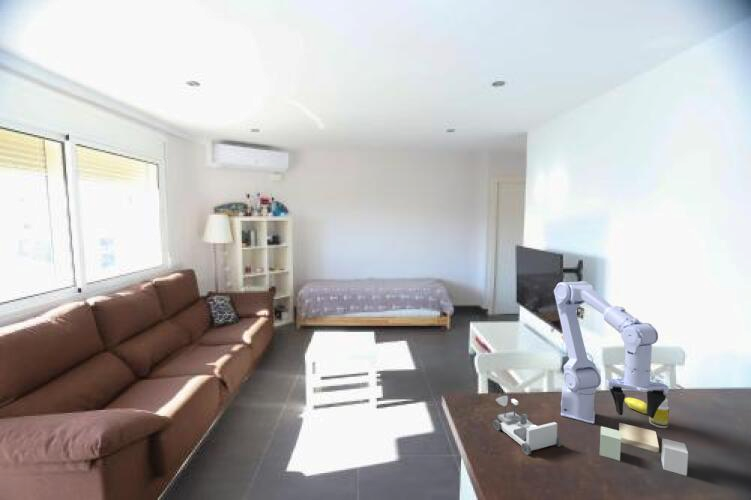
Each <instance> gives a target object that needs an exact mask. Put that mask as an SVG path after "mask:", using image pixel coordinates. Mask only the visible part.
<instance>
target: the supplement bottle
mask: <svg viewBox="0 0 751 500" xmlns="http://www.w3.org/2000/svg"><path fill="white" fill-rule="evenodd" d="M668 404H669V400H668V398H666V399H665V400H664V401H663V402H662V403H661V405H660V406H659V407H658V409H657V411H656V413H655V416H654V418H650V417H649V416H648V422H649V424H651V425H652V426H654V427H656V428H661V429H667V428H668V427H669V413H670V407H669V406H668Z"/></svg>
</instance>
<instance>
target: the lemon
mask: <svg viewBox="0 0 751 500" xmlns="http://www.w3.org/2000/svg"><path fill="white" fill-rule="evenodd" d="M624 402H625V404H626V405H627V406H628V408H630V409H632V410H635V411H637V412H639V413H642V414H644V415H647V403H646V402H645V401H643V400H641V399H639V398H635V397H625V398H624Z"/></svg>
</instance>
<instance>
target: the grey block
mask: <svg viewBox="0 0 751 500" xmlns="http://www.w3.org/2000/svg"><path fill="white" fill-rule="evenodd" d="M661 440H662V441H661V464H662V465H661V466H662V468H663V470H665V471H668V472H673V473H674V474H675V473H676V474H679V475H682V476H686V477H687V476H688V475H687V474H688V461H689V452H688V448H687V447H686V444H685V443H684V442H680V441H674V440H671V439H668V438H667V439H666V438H662V439H661Z"/></svg>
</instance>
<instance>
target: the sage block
mask: <svg viewBox="0 0 751 500" xmlns="http://www.w3.org/2000/svg"><path fill="white" fill-rule="evenodd" d="M599 437H600V438H599V439H600V440H599V441H600V442H599V456H602V457H605V458H609V459H613V460H615V461H619V462H620V461H621V446H622V443H621V431H619V429H618V430H617V429H615V428H614V429H613V428H609V427H606V426H600V436H599Z"/></svg>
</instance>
